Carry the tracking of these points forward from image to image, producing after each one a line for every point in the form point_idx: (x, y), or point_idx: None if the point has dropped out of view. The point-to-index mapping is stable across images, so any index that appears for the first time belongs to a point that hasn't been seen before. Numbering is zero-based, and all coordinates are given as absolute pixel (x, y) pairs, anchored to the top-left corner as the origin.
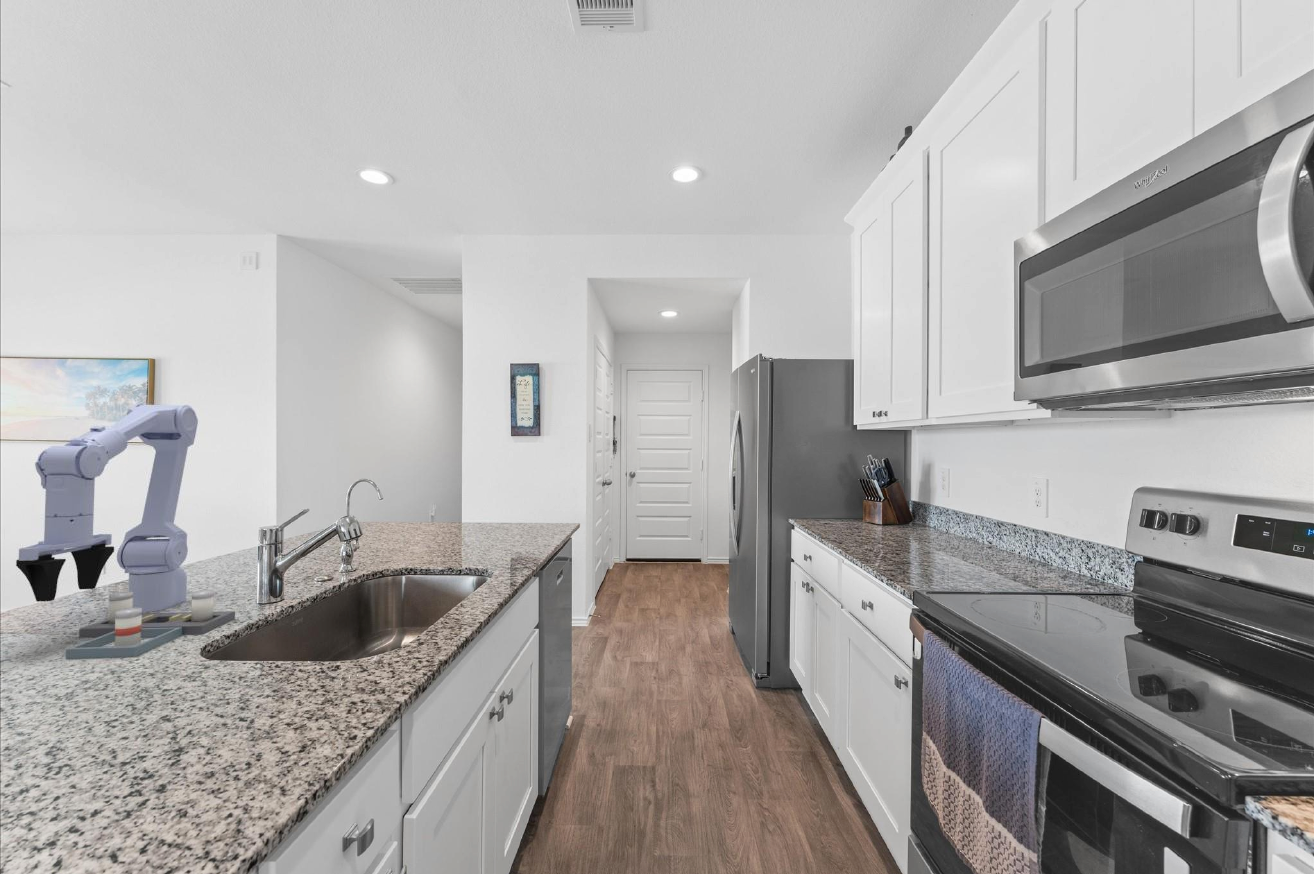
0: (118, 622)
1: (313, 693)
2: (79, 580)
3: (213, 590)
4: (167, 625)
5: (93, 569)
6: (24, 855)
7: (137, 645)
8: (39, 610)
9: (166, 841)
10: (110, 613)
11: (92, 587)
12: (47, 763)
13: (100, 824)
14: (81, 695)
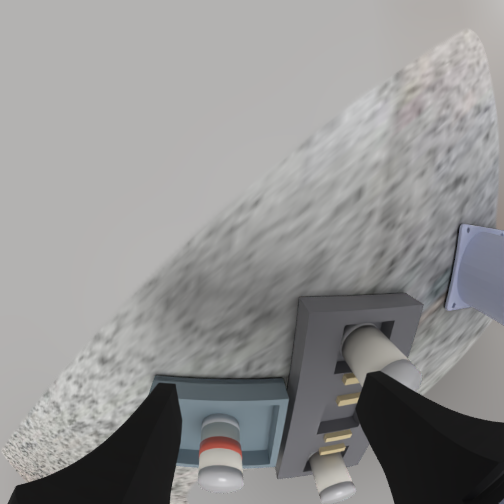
0: (199, 466)
1: None
2: (386, 396)
3: (345, 499)
4: (292, 448)
5: (393, 463)
6: (3, 453)
7: (177, 464)
8: (484, 56)
9: (27, 479)
10: (356, 359)
11: (357, 413)
12: (23, 445)
13: (19, 467)
14: (82, 434)
